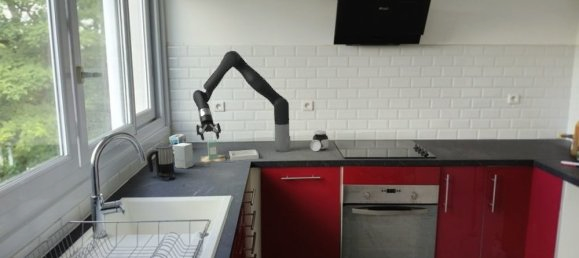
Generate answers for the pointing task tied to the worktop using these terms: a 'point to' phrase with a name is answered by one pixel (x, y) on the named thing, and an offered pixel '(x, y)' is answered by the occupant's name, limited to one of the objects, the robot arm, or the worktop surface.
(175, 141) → the light bulb box
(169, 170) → the milk frother
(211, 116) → the robot arm
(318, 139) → the spread jar
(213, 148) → the carton
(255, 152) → the tray
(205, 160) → the board
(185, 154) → the supplement box
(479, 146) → the worktop surface
